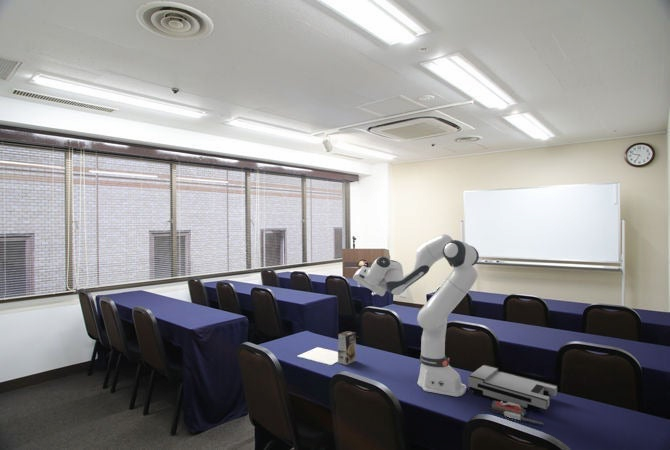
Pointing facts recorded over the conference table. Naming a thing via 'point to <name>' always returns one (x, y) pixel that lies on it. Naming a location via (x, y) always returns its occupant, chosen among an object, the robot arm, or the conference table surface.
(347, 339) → the coffee box
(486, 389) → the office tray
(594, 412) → the conference table surface
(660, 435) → the conference table surface
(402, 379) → the conference table surface
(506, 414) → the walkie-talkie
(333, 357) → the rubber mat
